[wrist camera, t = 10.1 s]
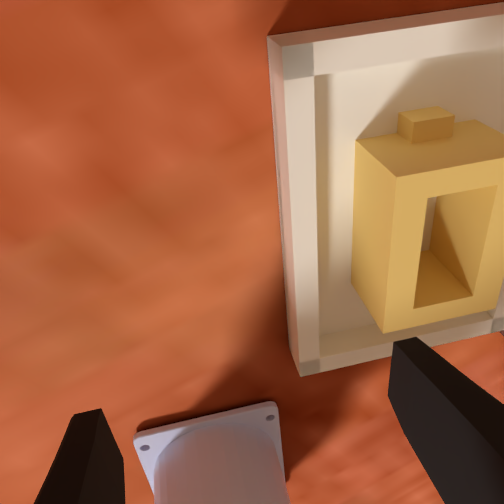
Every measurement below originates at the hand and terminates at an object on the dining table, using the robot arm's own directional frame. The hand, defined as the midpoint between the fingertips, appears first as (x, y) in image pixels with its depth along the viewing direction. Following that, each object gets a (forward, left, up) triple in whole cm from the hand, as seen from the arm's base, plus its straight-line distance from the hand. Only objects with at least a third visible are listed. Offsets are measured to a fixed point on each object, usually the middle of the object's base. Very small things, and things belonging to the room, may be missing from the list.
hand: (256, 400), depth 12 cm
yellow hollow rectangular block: (-1, -9, -9) cm, 12 cm away
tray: (-1, -9, -9) cm, 13 cm away
